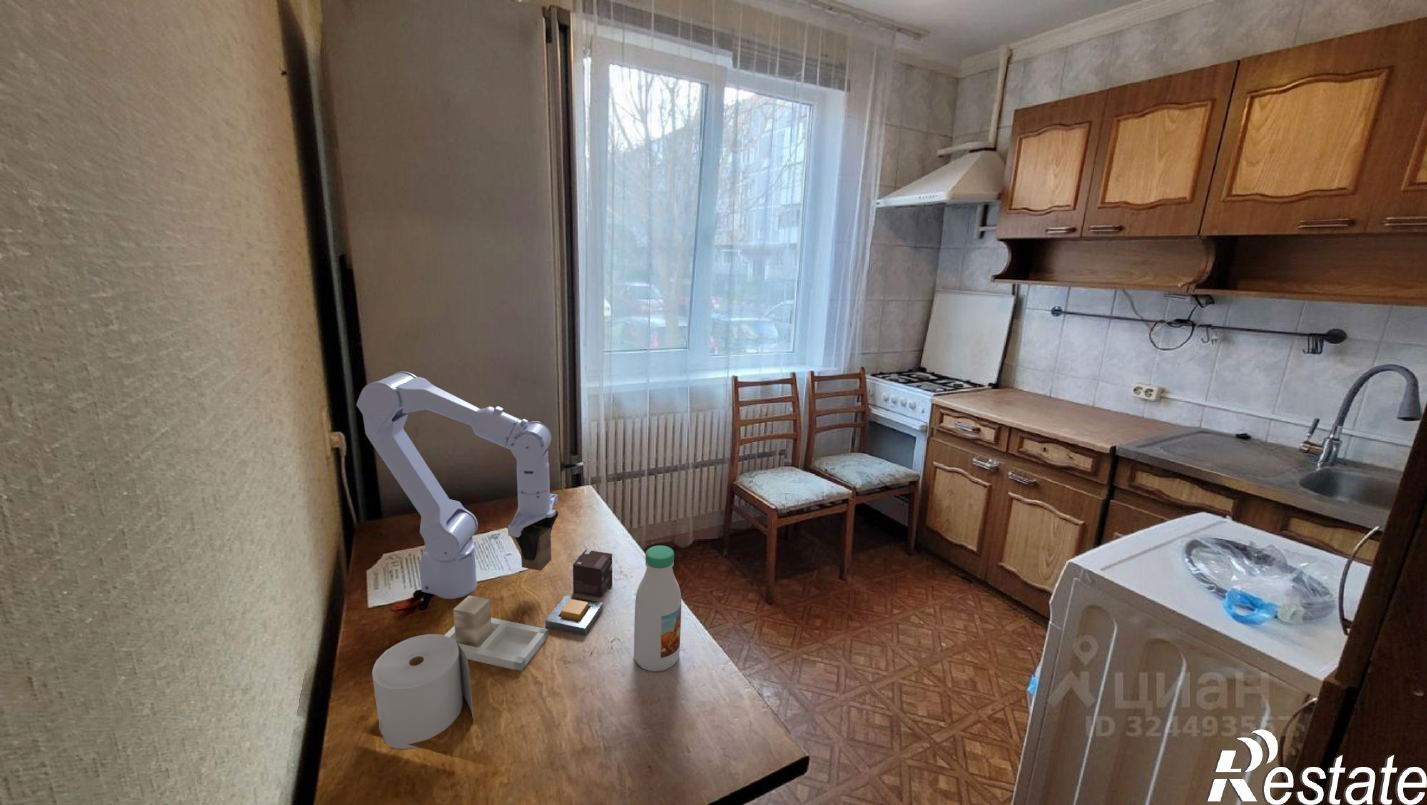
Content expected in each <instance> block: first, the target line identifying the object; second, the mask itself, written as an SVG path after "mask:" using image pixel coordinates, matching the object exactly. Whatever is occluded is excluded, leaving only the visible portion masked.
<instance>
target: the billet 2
mask: <svg viewBox="0 0 1427 805" xmlns="http://www.w3.org/2000/svg"><path fill="white" fill-rule="evenodd" d="M532 526H533V525H532ZM534 527H535V528H541V529H542V530H541V532H540V535H539V538H538V542H537V553H536V558H535V559H534V560H533V561H532V560H527V559H524V557H523V555H522V552H521V551H520V556H521V558H520V561H521V568H524V569H530V570H534V571H540V572H541V571H542V570H543V569H545V567H546V566H547V565H548V564H549V563H550V562H551V561H552V543H551V542H552V538H551V537H552V536H551V534H552V530H551V531H550V528H548V527H542V526H536V525H534Z"/></svg>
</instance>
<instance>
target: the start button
mask: <svg viewBox="0 0 1427 805" xmlns="http://www.w3.org/2000/svg"><path fill="white" fill-rule="evenodd" d="M587 611H588V602H584V601H578V600H573V599H570V600H569V601H568V602H567V604H566V605H565V606H564V608H563V609H562V610H561V617H563V618H568V619H573V620H578V621H581V620H582V618H583V617H584V616H585V614H586V613H587Z"/></svg>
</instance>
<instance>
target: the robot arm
mask: <svg viewBox="0 0 1427 805" xmlns="http://www.w3.org/2000/svg"><path fill="white" fill-rule="evenodd" d="M356 407H357V408H358V410H359V411H360V413H361V414H362V418H363V419H362V420H363V424H364V426H363V427H364V431H365V432H364V433H365V435H366V437H367V438H368V440H369V441H370V444H371V445H372V446H373V448H375V451H376V452H377V454H378V456H380V458H381V459H382V461H383V463H384V464H385V465H386V467H387V468H388V470H389V471H390V472H391V474H392V475H393V477H394V478H395V480H396V481H397V483H398V484H399V486H400V487H401V489H402V490H403V492H404V493H405V494H406V496H407V497H408V499H409V501H410V502H411V504H412V505H413V506H414V508H415V509H416V511H417V512H418V513H419V515H420V517H421V518H420V526H419V534H420V535H421V537H422V539H423V541H424V547H425V551H424V552H423V554H422V556H421V558H420V562H419V566H418V567H419V578H420V588H421V592H423V593H427V594H432V595H435V596H437V597H439V598H440V599H445V600H446V599H448V600H453V599H458V598H463V597H466V596H469V594H471V593H472V592H474V591H475V589H476V588H477V585H478V583H477V570H476V569H477V568H476V567H477V566H476V558H475V557H476V554H475V543H474V541H473V540H474V538H473V536H474V535H475V534H476V532H477V531H478V526H479V523H478V519H477V517H476V516H475V515H474V513H472V512H471V511H469V510H468V509H466V508H465V507H464V506H463V504H462V503H461V501H458V500H453V499H450V498H449V496H448V494H447V493H446V491H445V490H444V489H443V487H442V486H441V483H440V482H439V481H438V479H437V478H436V476H435V475H434V473H433V471H431V469H430V468H429V466H428V464H427V463H426V461H425V460H424V458H423V457H422V455H421V454H420V452H419V451H418V449H417V448H416V446H415V444H414V442H412V440H411V439H410V438H411V437H409V435H408V433H407V432H406V431H405V430H404V427H405V424H406V422H407V419H408V418H409V417H408V416H409V413H415V412H420V411H425V410H426V411H430V412H433V413H435V414H438V415H439V416H443V417H446V418H449V419H451V420H454V421H457V422H460V423H462V424H465V425H468V426H470V427H471V428H472V431H473V434H474V435H475V436H477V437H479V438H482V439H483V440H486V441H488V442H491V443H492V444H496V445H497V446H500V447H503V448H505V449H507V450H510V451H511V454H512V456H513V457H514V458H515V459H516V484H517V510H516V513H515V514H514V517H513V519H512V521H511V522H510V523H509V525H508V526H507V533H508V534H507V535H508V537H513V538H514V539H515V540H516V542H517V544H518V546H519V550H520V553H521V552H522V555H523V557H524V559H527V560H532V561H533V560H534V559H535V558H536V553H537V542H538V538H539V535H540V532H541V530H542V529H541V528H535V527H534V525H536V526H542V527H548V528H550V531H551V532H552V530H553V527H554V524H555V522H556V520H557V518H558V516H559V511H558V510H556V509H553V507H554V506H557V505H558V504H559V497H558V494H555V493H551V491H550V463H549V450H548V448H549V446H550V445H551V442H552V438H553V437H552V432H551V430H550V429H549V427H547V426H546V425H545V424H543V423H542V422H541V421H538V420H534V421H529V420H527V419H525V418H523V419H520V418H518V417H516V416H513V415H511V414H509V413H507V412H504V408H503V407H501V406H498V405H497V406H495V407H493V406H487V407H484V408H479V407H478V406H475V405H473V404H471V403H470V402H467V401H465V400H464V399H461V398H460V397H457V396H455V395H453V394H452V393H449V392H447V391H446V390H444V389H441V388H439V387H437V386H436V385H434V384H432V383H431V382H430V381H429V380H428V379H426V378H424V377H421V376H416V375H415V374H413V373H411V372H409V371H397V372H395V373H393V374H392V375H389V376H388V377H385V378H381V379H380V380H377V381H373V382H370V383H368V384H366V385H365V386H364V387H363V388H362V390H361V392H360V394H359V396H358V399H357V402H356ZM532 525H533V526H532Z"/></svg>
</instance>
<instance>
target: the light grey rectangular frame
mask: <svg viewBox="0 0 1427 805" xmlns="http://www.w3.org/2000/svg"><path fill="white" fill-rule="evenodd" d="M491 627H492V634H491V635H490V636H489V637H488V638H487V639H486V640H485V641H484V642H483V644H482V645H481V646H480V647H479V648H477V647H473V646H468V645H464V644H459V643H457V644H458V645H459V646H460V647H461V648H462V650H463V651H464V653H465V656H466V658H467V660H468V661H474V662H479V663H483V664H487V665H492V666H496V667H499V668H506V669H510V670H514V671H519V672H522V671H523V670H524V669H525V668H526V667H527V664H529V663H530V662H531V660H532V658H533V657H534V656H535V655H536V653H537V652H538V651H539V650H540V648H541V647H542V646H543V644H544V643H545V642H546V640H547V639H548V638H549V628H544V627H539V626H533V625H529V624H524V623H520V622H514V621H509V620H504V619H500V618H494V617H491ZM444 636H447V637H449V638H451V639H453V640H454V641H455V642H456V636H455V624H454V625H453V626H452V627H451V628H450V629H449V630H448V631H447V632H446V633H445V634H444Z"/></svg>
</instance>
